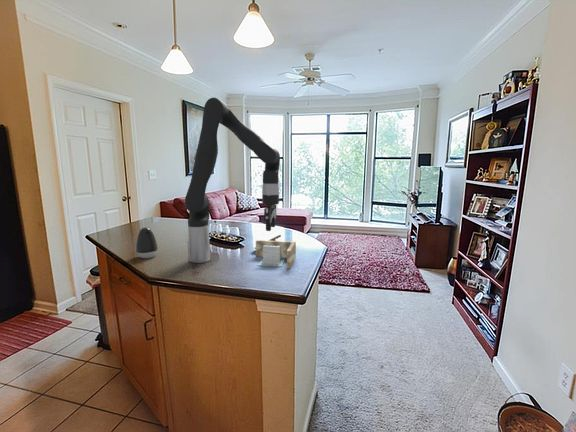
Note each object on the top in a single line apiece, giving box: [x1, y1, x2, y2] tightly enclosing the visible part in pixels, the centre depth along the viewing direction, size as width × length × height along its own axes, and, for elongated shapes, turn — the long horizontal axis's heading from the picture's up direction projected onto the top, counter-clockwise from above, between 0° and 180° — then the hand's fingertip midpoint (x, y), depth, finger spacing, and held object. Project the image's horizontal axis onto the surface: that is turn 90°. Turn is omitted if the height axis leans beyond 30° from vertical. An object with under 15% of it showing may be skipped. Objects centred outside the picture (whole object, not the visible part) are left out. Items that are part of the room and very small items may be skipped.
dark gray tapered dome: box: [134, 226, 159, 259], centre depth 145 cm, size 10×10×15 cm
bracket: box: [260, 245, 282, 267], centre depth 133 cm, size 8×5×8 cm, turn 80°
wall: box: [254, 234, 282, 250], centre depth 158 cm, size 16×9×15 cm
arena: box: [255, 239, 297, 269], centre depth 137 cm, size 20×17×8 cm
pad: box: [257, 258, 285, 268], centre depth 136 cm, size 11×9×1 cm
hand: (270, 228), depth 133 cm, fingers open, 8 cm apart
